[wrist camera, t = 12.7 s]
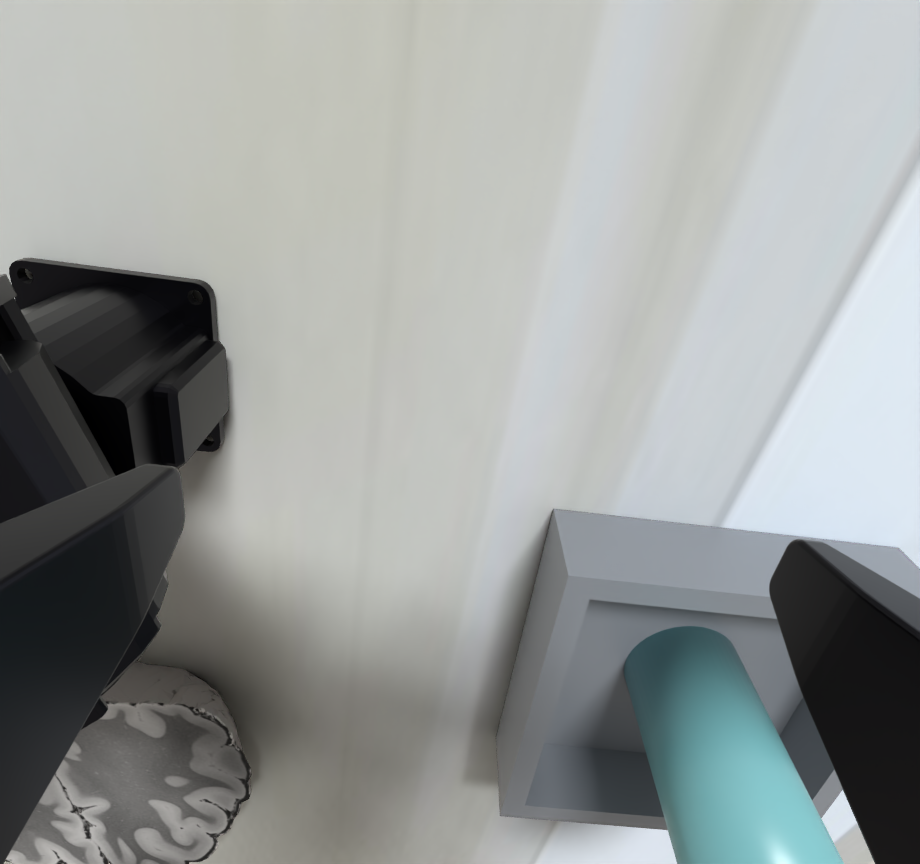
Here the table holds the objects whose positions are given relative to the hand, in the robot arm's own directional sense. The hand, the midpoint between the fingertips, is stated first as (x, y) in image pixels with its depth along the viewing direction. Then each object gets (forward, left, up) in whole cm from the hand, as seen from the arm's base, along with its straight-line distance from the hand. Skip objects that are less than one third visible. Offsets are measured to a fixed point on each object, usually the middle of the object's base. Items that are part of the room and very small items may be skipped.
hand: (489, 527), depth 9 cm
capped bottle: (+12, -16, -12) cm, 23 cm away
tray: (+12, -16, -13) cm, 24 cm away
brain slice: (-17, -27, -14) cm, 35 cm away
